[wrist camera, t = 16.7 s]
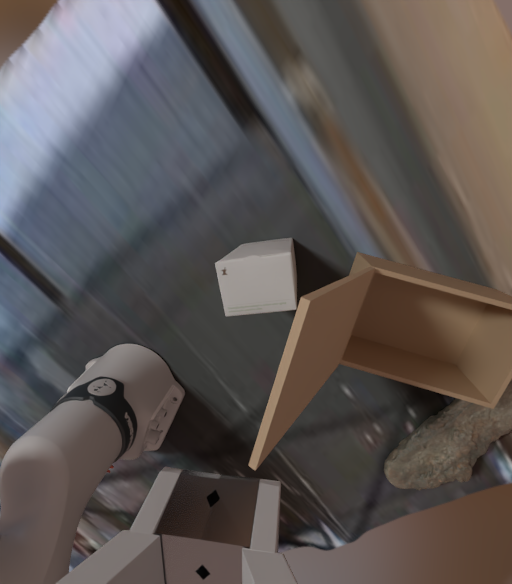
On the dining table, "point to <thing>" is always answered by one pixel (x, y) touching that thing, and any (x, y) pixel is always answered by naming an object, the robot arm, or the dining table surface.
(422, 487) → the long grey stone
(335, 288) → the lid flap
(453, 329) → the carton
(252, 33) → the dining table surface
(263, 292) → the skincare box
